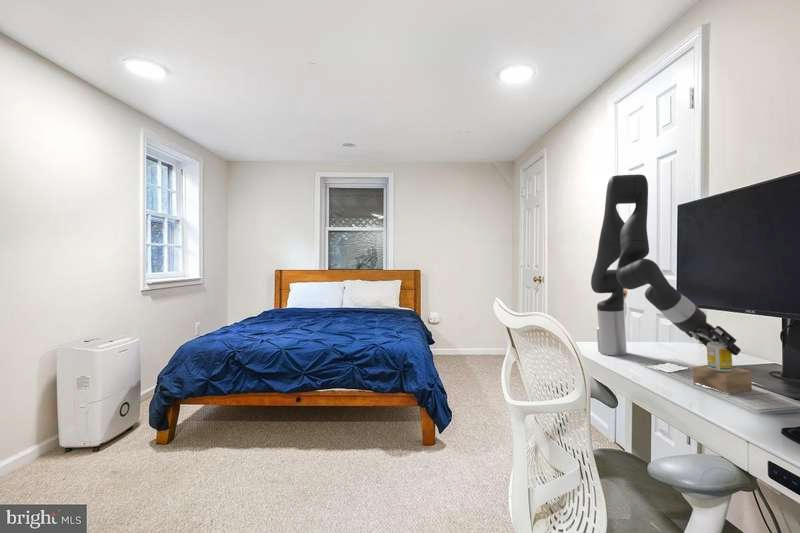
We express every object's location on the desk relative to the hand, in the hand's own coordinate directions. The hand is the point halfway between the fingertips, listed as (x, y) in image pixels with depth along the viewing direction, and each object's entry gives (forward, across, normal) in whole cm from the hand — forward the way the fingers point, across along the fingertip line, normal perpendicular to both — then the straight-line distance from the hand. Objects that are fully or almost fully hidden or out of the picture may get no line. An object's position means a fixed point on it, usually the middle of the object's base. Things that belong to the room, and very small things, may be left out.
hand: (724, 349), depth 105 cm
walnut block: (+7, 0, +8) cm, 11 cm away
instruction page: (+6, +19, +10) cm, 22 cm away
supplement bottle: (+3, 0, +5) cm, 6 cm away
